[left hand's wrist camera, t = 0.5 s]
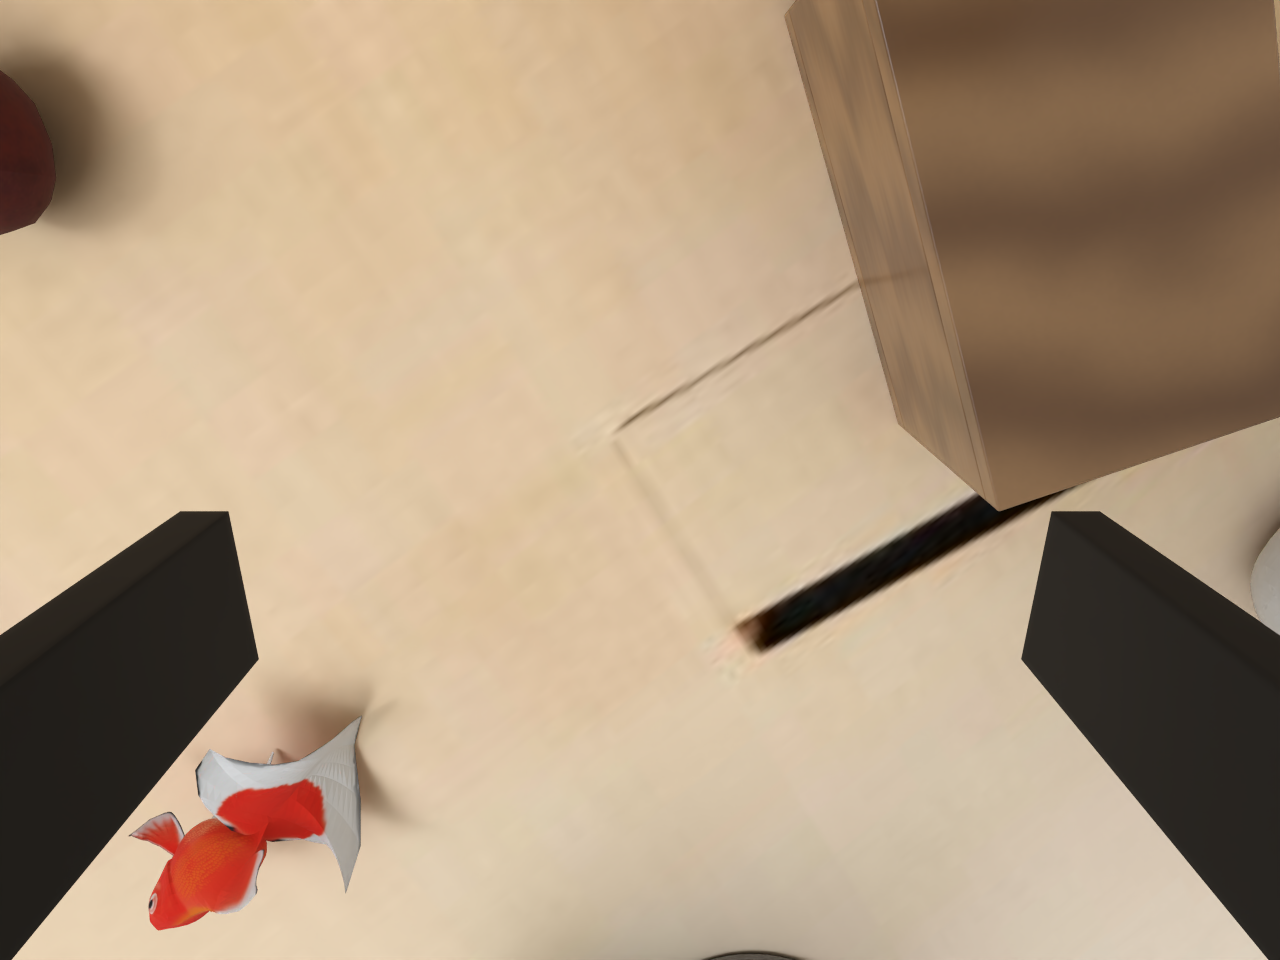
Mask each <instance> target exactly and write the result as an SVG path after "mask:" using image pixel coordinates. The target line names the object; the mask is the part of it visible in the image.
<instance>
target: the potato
mask: <svg viewBox="0 0 1280 960" xmlns="http://www.w3.org/2000/svg"><path fill="white" fill-rule="evenodd" d="M55 180H56V173H55V165H54V157H53V149H52V144H51V141H50V138H49V136H48V134H47V131H46V129H45V127H44V124H43V122H42V120H41V117H40V115H39V113H38V110H37V108H36V106H35V104H34V103H33V101H32V100H31V99H30V98H29V97H28V96H27V95H26V94H25V93H24V92H23V90H22V89H21V88H20V87H19V86H18V85H17V84H16V83H15V82H14V81H13V80H12V79H11V78H10V77H8V76H7V75H6V74H4V73H3V72H2V71H0V235H1V234H5V233H8V232H11V231H14V230H17V229H20V228H23V227H25V226H28V225H31V224H33V223H35V222H36V221H37V220H38V218H39V217H40V216H41V214H42V213H43V212H44V210H45V209H46V208H47V206H48V205H49V203H50V201H51V199H52V194H53V190H54V185H55Z"/></svg>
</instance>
